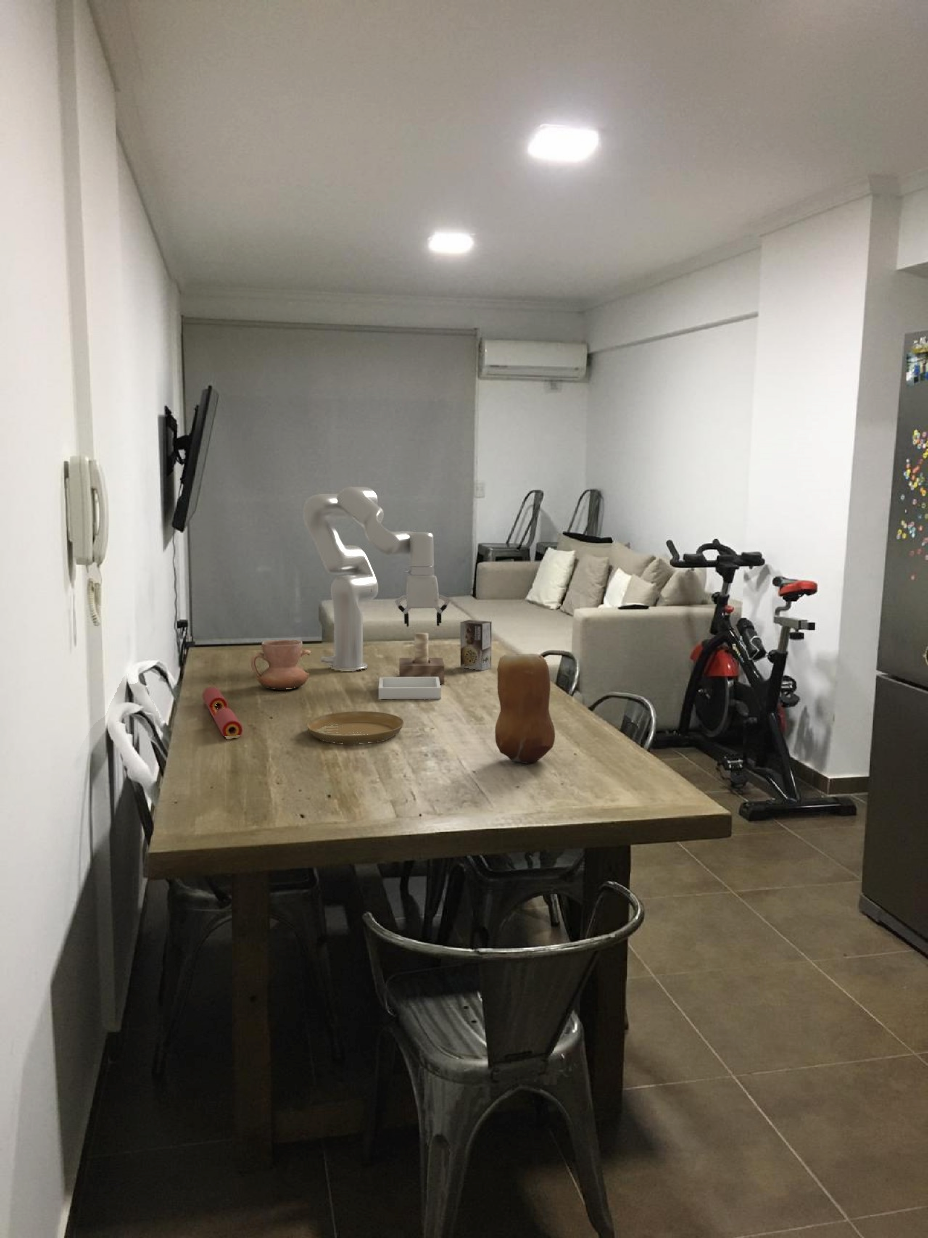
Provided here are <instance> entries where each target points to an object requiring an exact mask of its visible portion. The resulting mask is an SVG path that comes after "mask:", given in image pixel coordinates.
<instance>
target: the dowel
mask: <svg viewBox="0 0 928 1238" xmlns="http://www.w3.org/2000/svg"><path fill="white" fill-rule="evenodd" d="M413 638H414V640H413V641H414V643H413V645H414V647H413V648H414V653H413V654H414V655H413V656H414V657H413V658H414V663H428V658H429V633H428V632H415V633H414V637H413Z"/></svg>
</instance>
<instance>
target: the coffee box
mask: <svg viewBox="0 0 928 1238" xmlns="http://www.w3.org/2000/svg"><path fill="white" fill-rule="evenodd" d="M459 625H460V626H459V628H460V633H459V634H460V639H459V640H460V641H459V642H460V652H459V653H460V655H459V656H460V657H459V658H460V666H459V667H460V669H464V668H469V669H468V670H473V669H475V670H474V671H486V670H490V669H491V668H492V625H493V624H492V621H490V620H489V621H487V620H478V619H475V620H474V619H467V620H463V621H460V622H459Z"/></svg>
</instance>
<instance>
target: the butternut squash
mask: <svg viewBox="0 0 928 1238" xmlns="http://www.w3.org/2000/svg"><path fill="white" fill-rule="evenodd" d="M496 671H497V697H498V701H499V707H500V710H499V715H498V717H497V720H496V722H495V727H494V728H495V730H494V737H495V738H494V739H495V745H496V746H497V748H498V750H499V753H500V754H502V755H504V756H506V757H507V758H508V759H509V760H511V761H514V762H519V763H522V764H527V765H529V764H533V763H537V762H538V761H539V760H541V758H544V756H546V754H547V753H549V751H551V749H552V748H553V747H554V745H555V740H556V731H555V726H554V723H553V720H552V718H551V717H552V716H551V714H550V696H551V678H550V677H551V675H550V669H549V665H548V662H547V660H546V659H545V657H543V656H542V655H541V654H538V653H512V652H511V653H508V654H507V653H506V654H504V655H502V656H501V657H499V661H498V664H497V668H496Z"/></svg>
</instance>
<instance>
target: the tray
mask: <svg viewBox="0 0 928 1238" xmlns="http://www.w3.org/2000/svg"><path fill="white" fill-rule="evenodd" d="M378 681H379V682H378V700H379V699H424V701H425V699H429V700H430V699H442V687H441V685H440V681H439V677H399V676H380V677H379V680H378ZM429 700H428V701H429Z"/></svg>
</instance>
